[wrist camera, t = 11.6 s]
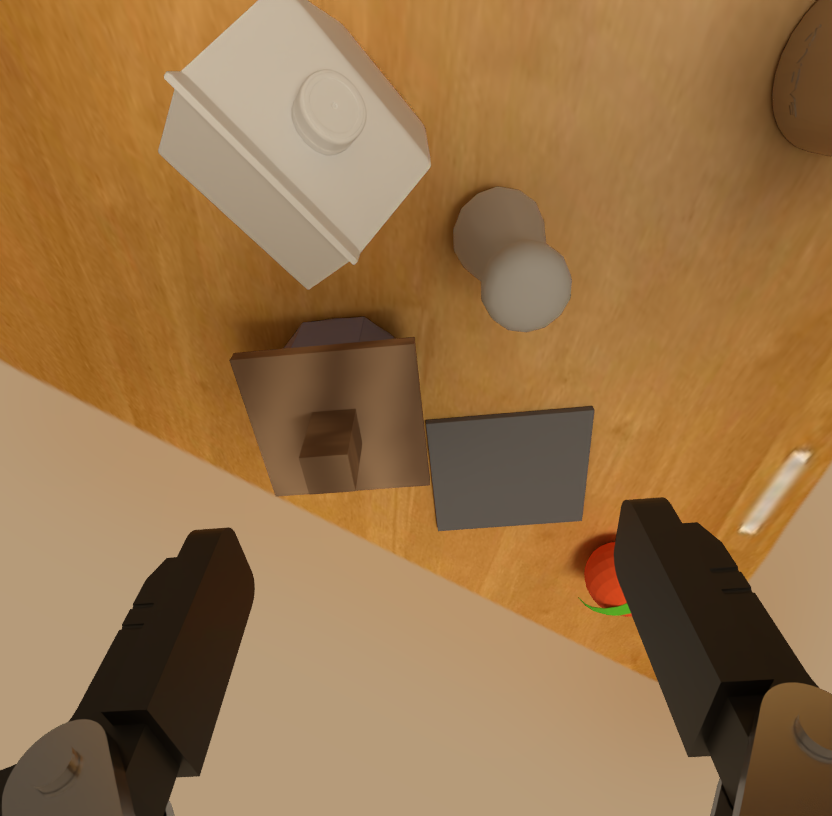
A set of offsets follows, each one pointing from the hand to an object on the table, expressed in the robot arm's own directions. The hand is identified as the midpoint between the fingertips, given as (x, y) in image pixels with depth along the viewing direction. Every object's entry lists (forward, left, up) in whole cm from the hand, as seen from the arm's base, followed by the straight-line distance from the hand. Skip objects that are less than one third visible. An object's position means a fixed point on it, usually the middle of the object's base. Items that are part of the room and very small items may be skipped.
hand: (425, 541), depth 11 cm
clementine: (-16, +35, -28) cm, 48 cm away
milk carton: (+4, -6, -28) cm, 29 cm away
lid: (+7, +12, -23) cm, 27 cm away
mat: (-6, +23, -28) cm, 37 cm away
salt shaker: (-5, +1, -28) cm, 29 cm away
